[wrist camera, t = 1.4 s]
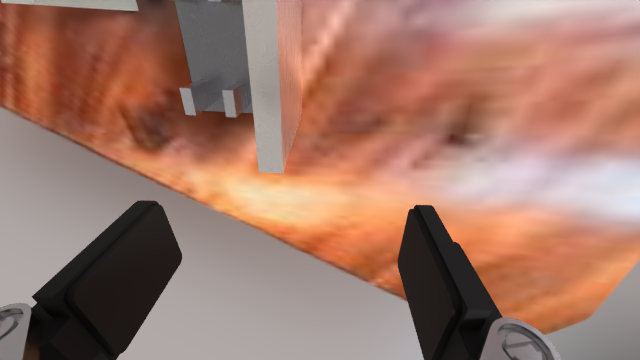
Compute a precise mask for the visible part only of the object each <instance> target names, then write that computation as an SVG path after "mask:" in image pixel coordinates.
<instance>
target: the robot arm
mask: <svg viewBox="0 0 640 360" xmlns="http://www.w3.org/2000/svg"><path fill="white" fill-rule="evenodd" d="M181 260H182V253H181V251H180V248H179V246H178V243H177V241H176V238H175V236H174V233H173V231H172V229H171V226H170V224H169V221H168V219H167V216H166V214H165V211H164V209H163V207H162V206H161V205H159V204H158V202H156V201H137V202H136V203H134V204H133V205H132V206H131V207H130V208H129V209H128V210H127V211H125V212H124V213H123V214H122V215H121V216H120V217H119V218H118V219H117V220H116V221H115V222H113V223H112V224H111V225H110V226H109V227H108V228H107V229H106V230H105V231H104V232H102V233H101V234H100V235H99V236H98V237H97V238H96V239H95V240H94V241H92V242H91V243H90V244H89V245H88V246H87V247H86V248H85V249H84V250H83V251H81V253H79V254H78V255H77V256H76V257H75V258H74V259H73V260H72V261H70V262H69V263H68V264H67V265H66V266H65V267H64V268H63V269H62V270H61V271H60V272H58V273H57V274H56V275H55V276H54V277H53V278H52V279H51V280H50V281H48V282H47V283H46V284H45V285H44V286H43V287H42V288H41V289H40V290H39V291H38V292H36V293H35V294H34V295H33V296H32V297H33V299H34V300H35V301H36V302H37V304H36V305H35V306H34V307H33V308H31V307H30V306H29V305H27V304H24V303H16V304H10V305H7V306H4V307H1V308H0V360H116V359H117V357H118V356H119V354H121V353H123V352H124V351H125V350H126V349H127V347H128V346H129V344H130V343H131V341H132V339H133V338H134V336H135V335H136V333H137V332H138V330H139V328H140V327H141V325H142V324H143V322H144V320H145V319H146V317H147V315H148V314H149V312H150V311H151V309H152V308H153V306H154V304H155V303H156V301H157V300H158V298H159V297H160V295H161V293H162V292H163V290H164V289H165V287H166V285H167V284H168V282H169V281H170V279H171V277H172V275H173V274H174V273H175V271H176V269H177V268H178V266H179V265H180V263H181ZM398 268H399V272H400V276H401V279H402V283H403V286H404V290H405V293H406V297H407V300H408V304H409V308H410V311H411V315H412V318H413V322H414V325H415V329H416V332H417V336H418V339H419V343H420V346H421V350H422V354H423V357H424V360H561V358H560V356H559V354H558V351H557V350H556V348H555V347H554V346H553V345H552V344H551V342H550V341H549V340H548V339H547V338H546V337H545V336H544V335H543V334H542V333H541V332H540V331H538V330H537V329H535V328H534V327H532V326H531V325H529V324H527V323H525V322H522V321H520V320H518V319H513V318H503V317H502V315H501V314H500V312H499V310H498V309H497V307H496V305H495V304H494V302H493V300H492V298H491V297H490V295H489V293H488V292H487V290H486V288H485V287H484V285H483V283H482V282H481V280H480V278H479V276H478V275H477V273H476V271H475V270H474V268H473V266H472V265H471V263H470V261H469V260H468V258H467V256H466V255H465V253H464V251H463V249H462V248H461V246H460V245H459V244H458V243H456V242H453V241H452V239H451V237H450V235H449V234H448V232H447V230H446V228H445V227H444V225H443V223H442V221H441V219H440V218H439V216H438V214H437V212H436V211H435V209H434V207H433V206H431V205H416V206H415V207H414V209H410V210H409V212H408V217H407V221H406V225H405V230H404V234H403V239H402V243H401V248H400V252H399V257H398Z"/></svg>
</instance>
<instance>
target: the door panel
mask: <svg viewBox="0 0 640 360" xmlns="http://www.w3.org/2000/svg"><path fill="white" fill-rule="evenodd" d="M1 1H2V3H12V4H27V5H43V6H59V7H74V8H90V9H106V10H123V11H139V10H138V6H137V3H136V0H1Z"/></svg>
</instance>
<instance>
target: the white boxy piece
mask: <svg viewBox="0 0 640 360" xmlns="http://www.w3.org/2000/svg"><path fill="white" fill-rule="evenodd" d="M170 1H175V5H176V10H177V15H178V19H179V24H180V29H181V33H182V38H183V43H184V47H185V52H186V57H187V62H188V66H189V71H190V76H191V80H192V83H190V84H188V85H185V86H183V87H181V88H180V93H181V97H182V101H183V105H184V109H185V113H186V115H198V114H199V113H200V112H202V111H217V112H225V113H226V117H236V118H237V117H238V116H239V115H240V114H241V113H253V116H254V126H255V136H256V146H257V157H258V167H259V172H269V173H283V172H284V169H285V166H286V163H287V160H288V157H289V153H290V150H291V147H292V144H293V141H294V138H295V135H296V132H297V128H298V125H299V122H300V119H301V116H302V0H170Z"/></svg>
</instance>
